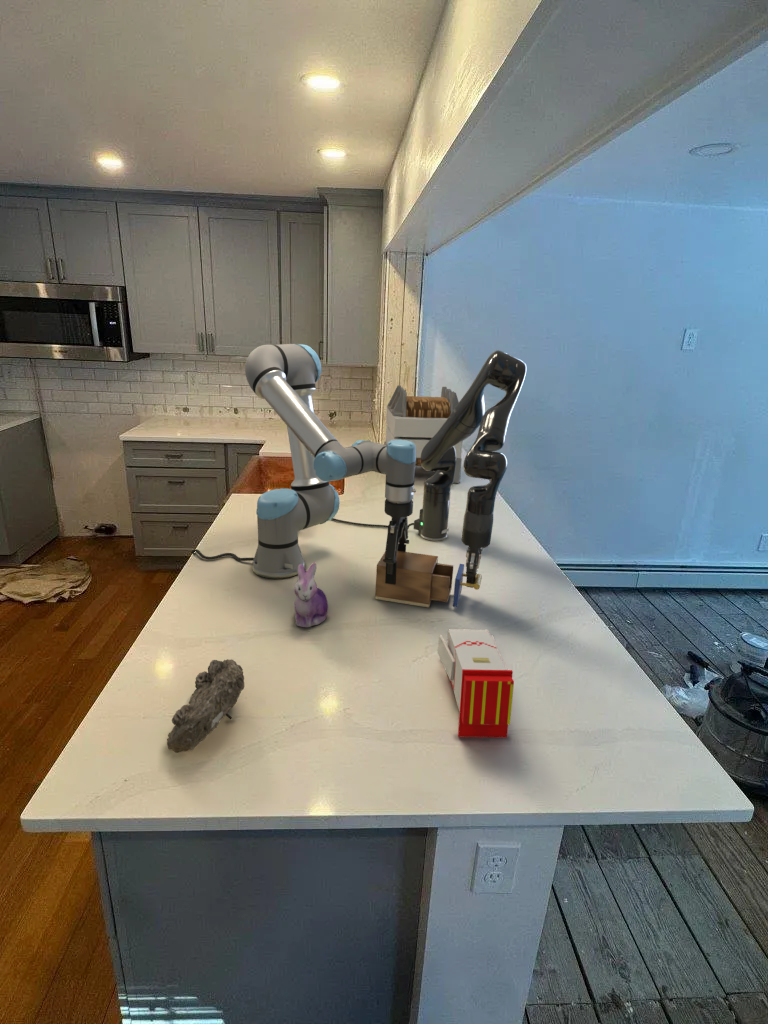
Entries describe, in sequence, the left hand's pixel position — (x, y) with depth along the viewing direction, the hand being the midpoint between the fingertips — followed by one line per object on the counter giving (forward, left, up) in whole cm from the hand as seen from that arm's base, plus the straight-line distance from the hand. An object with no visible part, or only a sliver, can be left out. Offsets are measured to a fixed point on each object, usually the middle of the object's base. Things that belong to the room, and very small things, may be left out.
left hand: (395, 574), depth 157 cm
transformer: (-27, +121, -6) cm, 124 cm away
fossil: (-16, -62, -6) cm, 65 cm away
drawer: (+14, +1, -4) cm, 15 cm away
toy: (+28, -36, -6) cm, 46 cm away
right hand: (+21, +2, 0) cm, 21 cm away
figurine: (-15, -23, -6) cm, 28 cm away
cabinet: (+3, 0, -6) cm, 6 cm away
